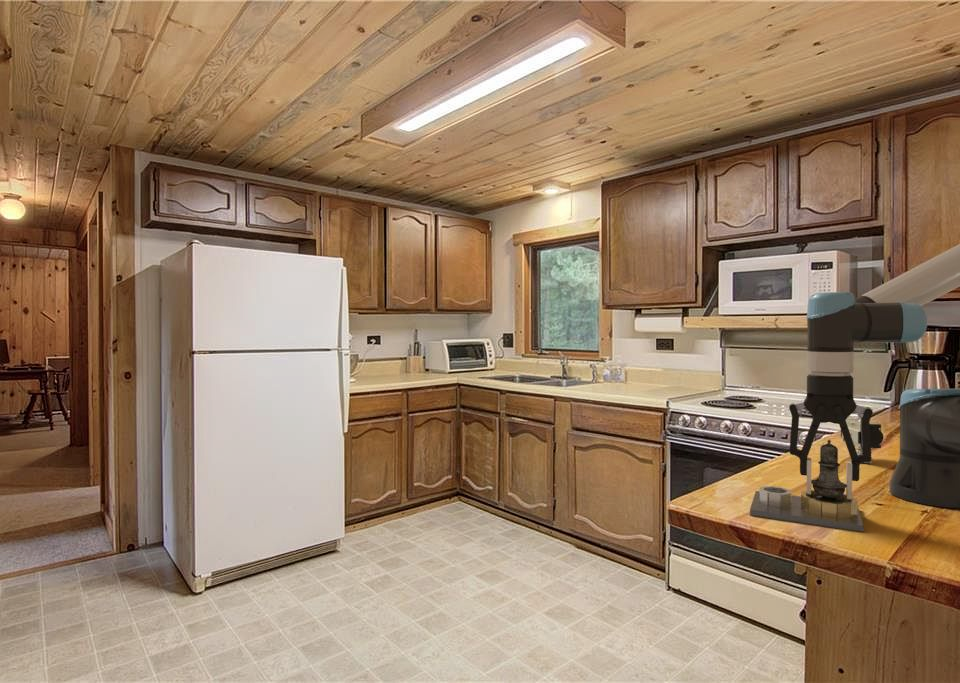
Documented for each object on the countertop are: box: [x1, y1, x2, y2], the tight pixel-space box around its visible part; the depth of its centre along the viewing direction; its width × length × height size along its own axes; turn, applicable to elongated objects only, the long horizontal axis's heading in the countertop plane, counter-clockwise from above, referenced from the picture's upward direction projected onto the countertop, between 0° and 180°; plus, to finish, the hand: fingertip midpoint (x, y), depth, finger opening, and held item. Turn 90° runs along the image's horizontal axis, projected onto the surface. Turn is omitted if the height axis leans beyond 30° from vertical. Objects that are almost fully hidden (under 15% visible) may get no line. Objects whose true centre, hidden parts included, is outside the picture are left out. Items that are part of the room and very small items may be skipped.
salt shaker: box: [811, 439, 847, 503], centre depth 107 cm, size 6×6×12 cm
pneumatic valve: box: [840, 418, 885, 464], centre depth 149 cm, size 6×12×12 cm, turn 174°
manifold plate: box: [749, 485, 864, 533], centre depth 109 cm, size 18×14×4 cm
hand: (828, 494), depth 107 cm, fingers closed on salt shaker, 6 cm apart
